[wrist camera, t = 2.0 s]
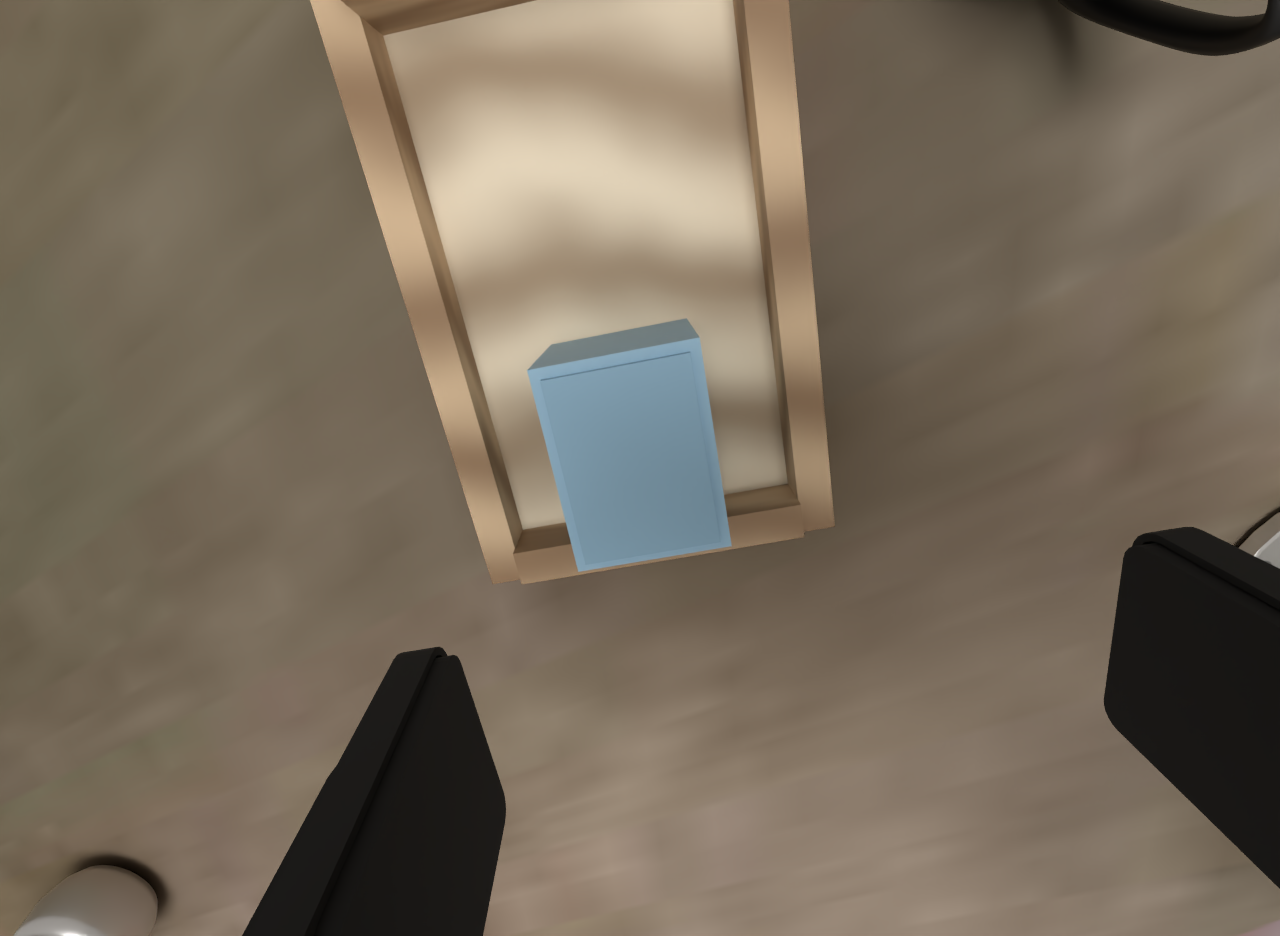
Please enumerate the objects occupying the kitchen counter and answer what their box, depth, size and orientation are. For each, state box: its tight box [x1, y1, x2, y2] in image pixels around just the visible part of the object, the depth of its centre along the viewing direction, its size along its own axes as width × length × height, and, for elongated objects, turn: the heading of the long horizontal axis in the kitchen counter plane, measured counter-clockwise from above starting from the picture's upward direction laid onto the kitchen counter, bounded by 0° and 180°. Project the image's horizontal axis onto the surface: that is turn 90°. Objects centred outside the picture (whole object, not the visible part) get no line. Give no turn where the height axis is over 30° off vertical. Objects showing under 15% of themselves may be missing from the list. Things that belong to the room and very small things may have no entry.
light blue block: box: [527, 318, 732, 572], centre depth 25 cm, size 8×6×6 cm
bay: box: [310, 0, 835, 584], centre depth 24 cm, size 24×16×6 cm, turn 11°
